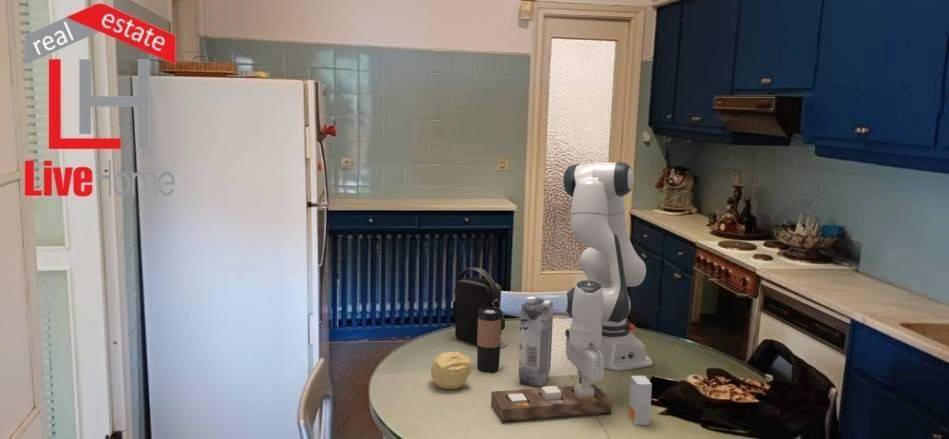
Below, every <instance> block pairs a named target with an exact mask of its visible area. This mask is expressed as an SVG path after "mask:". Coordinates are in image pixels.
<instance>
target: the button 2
mask: <svg viewBox="0 0 949 439" xmlns="http://www.w3.org/2000/svg"><path fill="white" fill-rule="evenodd" d="M590 385H591V384H589V383H588V386H586V387H583V386H582V385H581V384H580V383H578V384H574V385H573V386H574V395H575V396H576V397H577V398H578V399H582V398H592V397H594V389H593V388H592V387H591V386H590Z"/></svg>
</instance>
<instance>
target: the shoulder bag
mask: <svg viewBox="0 0 949 439" xmlns="http://www.w3.org/2000/svg"><path fill="white" fill-rule="evenodd" d="M469 271H475V272H477V273H479V274H480V275H481V276H483V277H484V278H485V279H484V278H480V277H475V276H474V277H471V276H470V277H466V278H465V275H466V274H467V272H469ZM453 292H454V294H455V300H453V302H452V317H453V318H454V326H455V329H454V333H453V334H449V335H448V336H445V337H444V338H445V339H447V340H451V341H454V342H458V343H463V344H465V345H470V346H473V347H475V348H477V335H478V310H479V309H480V308H481V309H486V308H487V307H494V308H498V309H500V310H501V298H502V286H501V285H500V284H499V283H496V282H495V280H494V279H493V277H492V276H491V274H489V273H488V272H487V271H486V270H485V269H483V268H481V267H476V266H474V267H471V266H470V267H468V268H465V269H463V270H462V271H461V272H460V273H459V276H458V278H457V281H456V283H455V286H454V287H453ZM505 329H506V318H505V317H504V312H503V310H501V335H502V334H503V331H504V330H505ZM502 330H503V331H502ZM506 346H507V344H506V343H503V342H501V344H500V349H501V348H504V347H506Z"/></svg>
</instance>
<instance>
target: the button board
mask: <svg viewBox="0 0 949 439" xmlns="http://www.w3.org/2000/svg"><path fill="white" fill-rule="evenodd" d="M589 385H590V386H591V387H592V388H593V389H594V397H592V398H582V399H578V398H577V397H576V396H575V395H574V385H569V386H567V385H565V386H564V385H563V386H556V387H557V388H558V389H559V390H560V391H561V400H553V401H544V400H543V399H542V397H541V388H542V387H536V388H525V389H524V388H522V389H509V390H496V391H491V393H490V394H491V397H490V405H491V407H492V409H493V411H494V412H495V414H496V416H497V417H498V419H499V420H500V423H501V424H510V423H511V424H512V423H521V422H522V423H523V422H532V421H533V422H534V421H536V422H537V421H545V420H558V419H568V418H571V419H572V418H581V417H582V418H583V417H593V416H605V415H607V416H608V415H612V407H613V400H612V399H610V397H608V395H607V394H606V393H605V392H604V391H602V389H601V388H599V386H598V385H597V384H596V383H595V384H593V383H592V384H589ZM521 393H523V394H524V396H525V397H526V399H527V403H516V404H510V403H509V401H508V394H521Z"/></svg>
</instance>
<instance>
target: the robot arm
mask: <svg viewBox="0 0 949 439" xmlns="http://www.w3.org/2000/svg"><path fill="white" fill-rule="evenodd" d="M562 178H563V180H562V181H563V188H564V191H565V192H566V194H567V195H568V196H569V197H571V198H572V199H571V205H570V216H569V217H570V231H571V233H572V235H573V237H574V238H575V239H576V240H577V241H578V242H579V243H580V244H583V245H584V246H586V247H587V248H585V249H584V250H583V251H582V253H581V256H580V258H579V265H580V268H581V270H582V271H583V273H584V274H585V275H586V278H587V280H581V281H578V282H577V283H576V284H575V286H573V287H572V288H571V289H570V290H568V292H566V299H567V301H566V303H567V304H566V309H565V312H566V313H567V315H569V316H570V317H571V318H572V320H571V324H570V328H565V331H564V332H565V333H564V335H565V337H566V339H565V340H566V341H565V354H566V357H567V359H568V360H569V361H570V363H572V364H573V365H574V367H576V372H577V375H578V376H577V378H578V381H577V382H578V384H581V385H582V386H583V387H586V386H588V384H589V381H590V382H591V383H593V382H594V383H596V382H597V383H598V382H603V379H604V377H605V376H604V372H605V369H608V370H611V371H615V372H621V371H627V370H633V369H640V368H641V369H642V368H646V367H651V366H653V360H652V358H650V356H648V355H647V352H646V348H645V344H644V343H643V342H642V341H641V340H639V339H638V337H636V336H635V335H633V333H631V332H635V331H636V329H637V328H636V326H635V325H633V324H630V323H629V322H627V321H626V319H627V318H628V317H629V316H630V313H631V312H630V311H631V299H630V295H629V294H628V288H627V287H629V288H630V287H632V288H633V287H637V286H639V285H641V284H642V283H643V281H644V280H645V278H646V274H647V267H646V264H645V262H644V260H643V259H642V258H641V257H640V256H639V255H638V253H637V252H636V250H635V248H634V246H633V245H632V242H631V239H630V237H629V234H628V227H627V219H626V206H625V199H624V196H626V195H628V194H629V193H630V192H631V191H632V190H633V186H634V182H635V176H634V172H633V168H632V166H630V165H629V163H627V162H622V161H621V162H620V161H617V162H613V161H597V162H590V163H583V164H582V163H581V164H578V163H577V164H573V165H569V166H568V167H567V168H566V169H565V171H564V174H563V177H562Z"/></svg>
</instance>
